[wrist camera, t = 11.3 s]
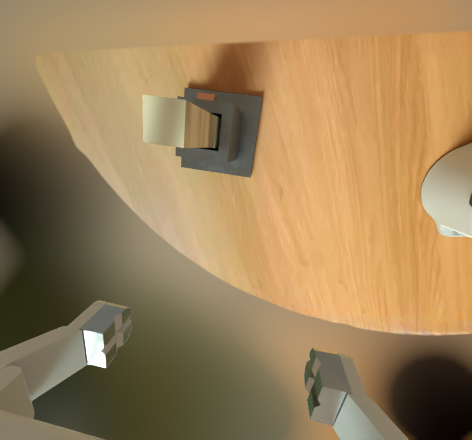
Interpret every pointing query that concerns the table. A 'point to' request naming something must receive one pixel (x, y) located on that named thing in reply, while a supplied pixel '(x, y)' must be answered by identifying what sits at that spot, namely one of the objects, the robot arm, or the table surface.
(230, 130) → the jack sleeve
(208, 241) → the table surface
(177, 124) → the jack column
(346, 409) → the robot arm
